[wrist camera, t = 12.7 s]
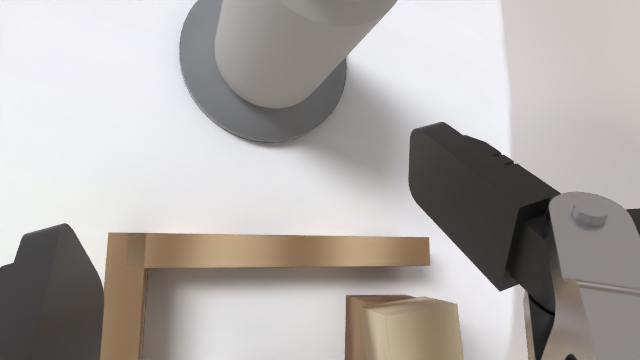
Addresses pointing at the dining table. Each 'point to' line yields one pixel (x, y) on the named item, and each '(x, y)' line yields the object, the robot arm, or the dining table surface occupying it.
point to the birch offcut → (412, 330)
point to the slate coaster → (230, 106)
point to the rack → (224, 251)
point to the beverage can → (288, 44)
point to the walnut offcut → (354, 321)
